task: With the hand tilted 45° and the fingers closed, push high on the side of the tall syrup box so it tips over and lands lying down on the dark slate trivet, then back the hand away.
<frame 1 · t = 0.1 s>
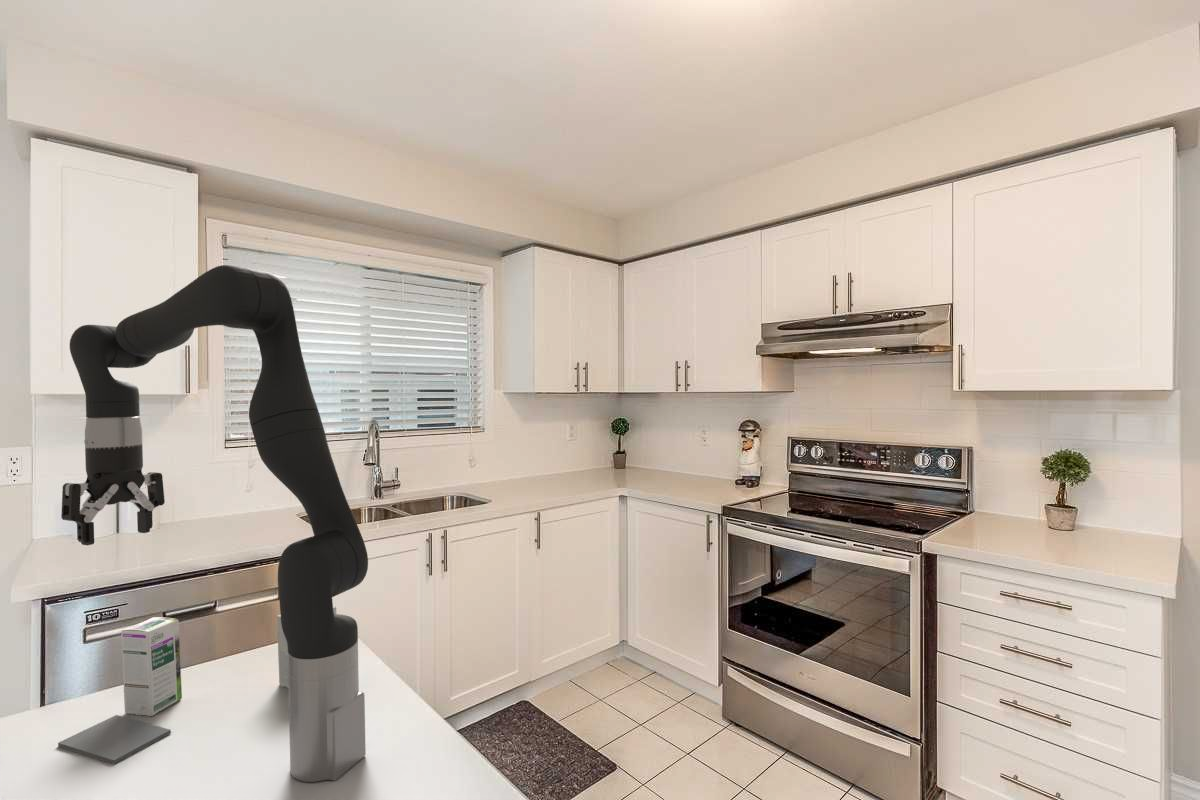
hand: (117, 538, 100), 29 cm above the counter, tool pointing down, fingers open, 8 cm apart
syrup box: (153, 707, 101), on the counter
small box: (309, 680, 110), on the counter
slate trivet: (115, 739, 91), on the counter
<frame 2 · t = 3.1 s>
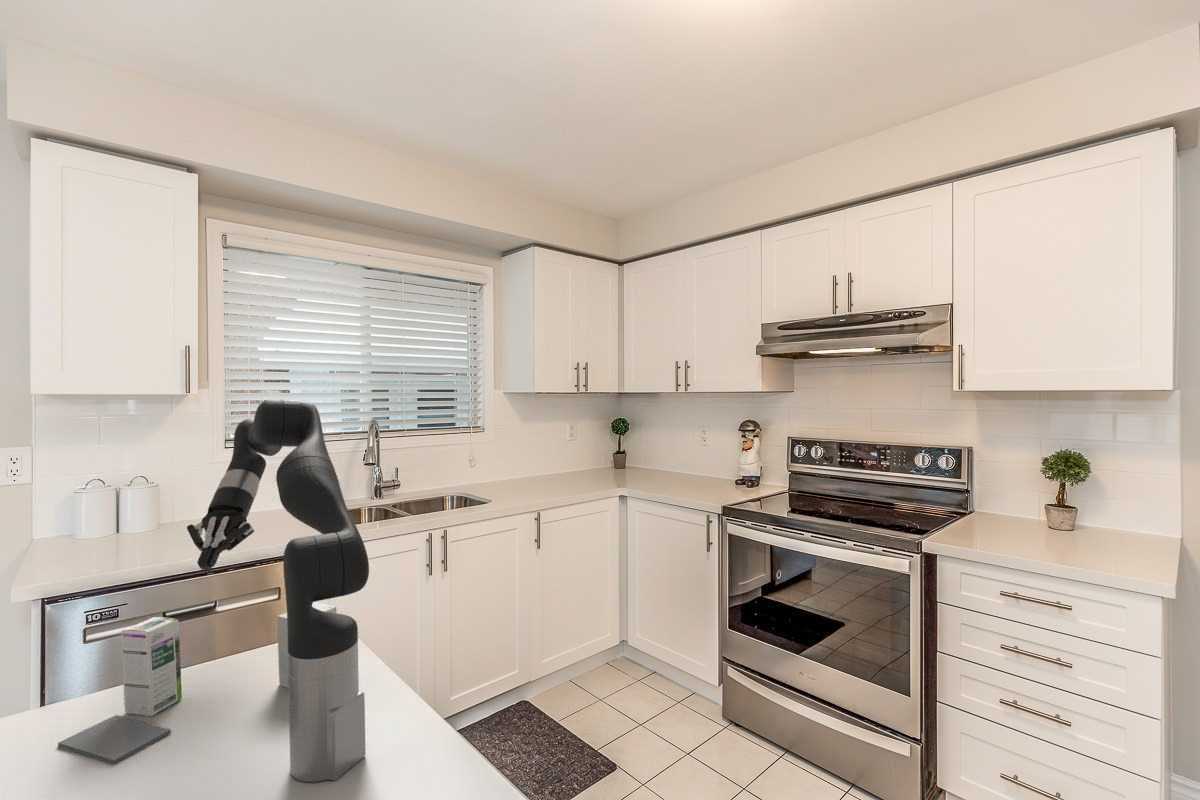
hand: (204, 567, 116), 19 cm above the counter, tool tilted 45°, fingers closed
nothing on the counter moved.
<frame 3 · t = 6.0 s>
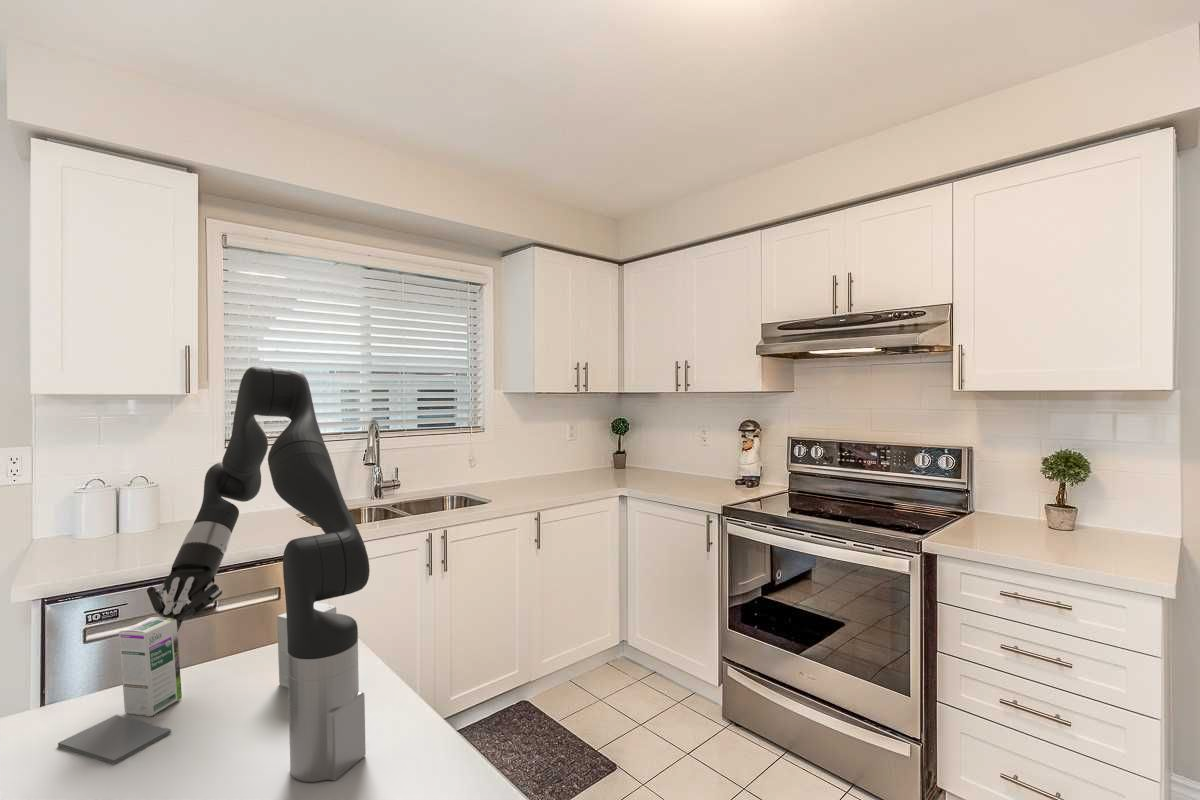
hand: (164, 638, 104), 10 cm above the counter, tool tilted 45°, fingers closed
syrup box: (153, 707, 101), on the counter, touching gripper
everything else where it was.
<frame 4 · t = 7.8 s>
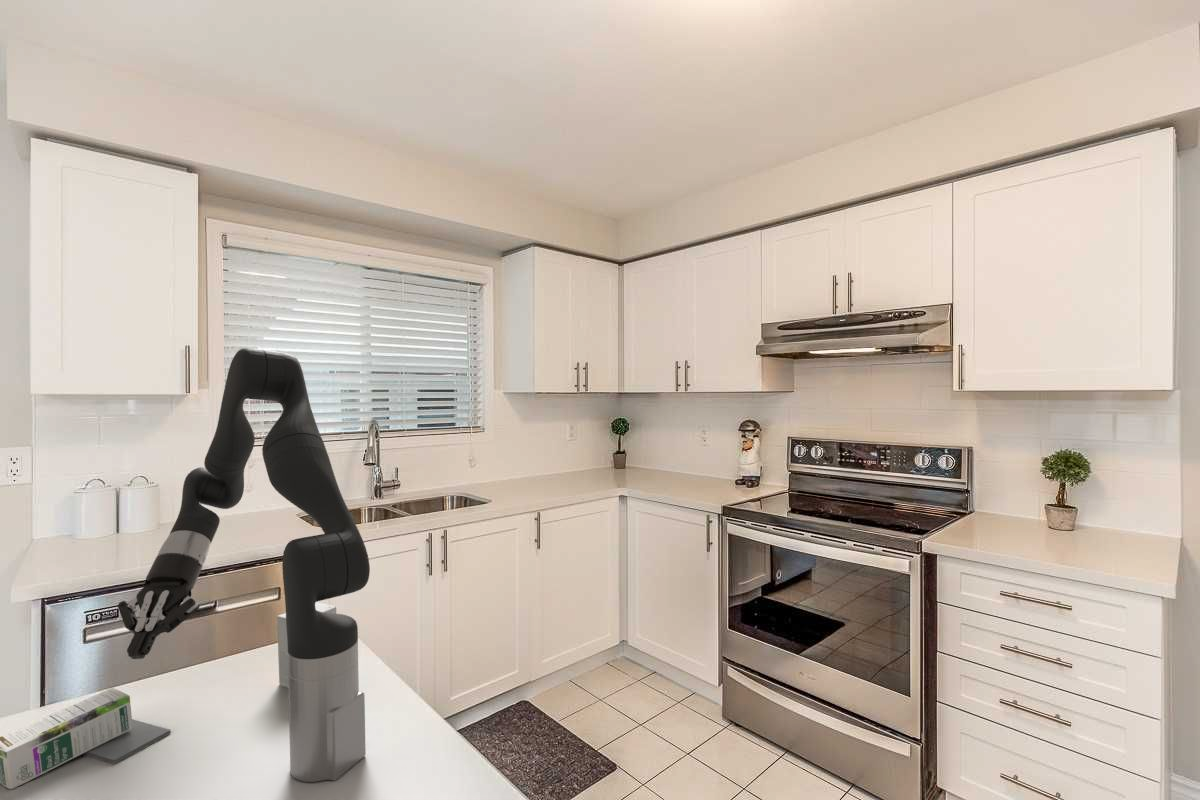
hand: (135, 657, 96), 10 cm above the counter, tool tilted 45°, fingers closed
syrup box: (125, 706, 93), point 4 cm above the counter, touching slate trivet
everything else where it was.
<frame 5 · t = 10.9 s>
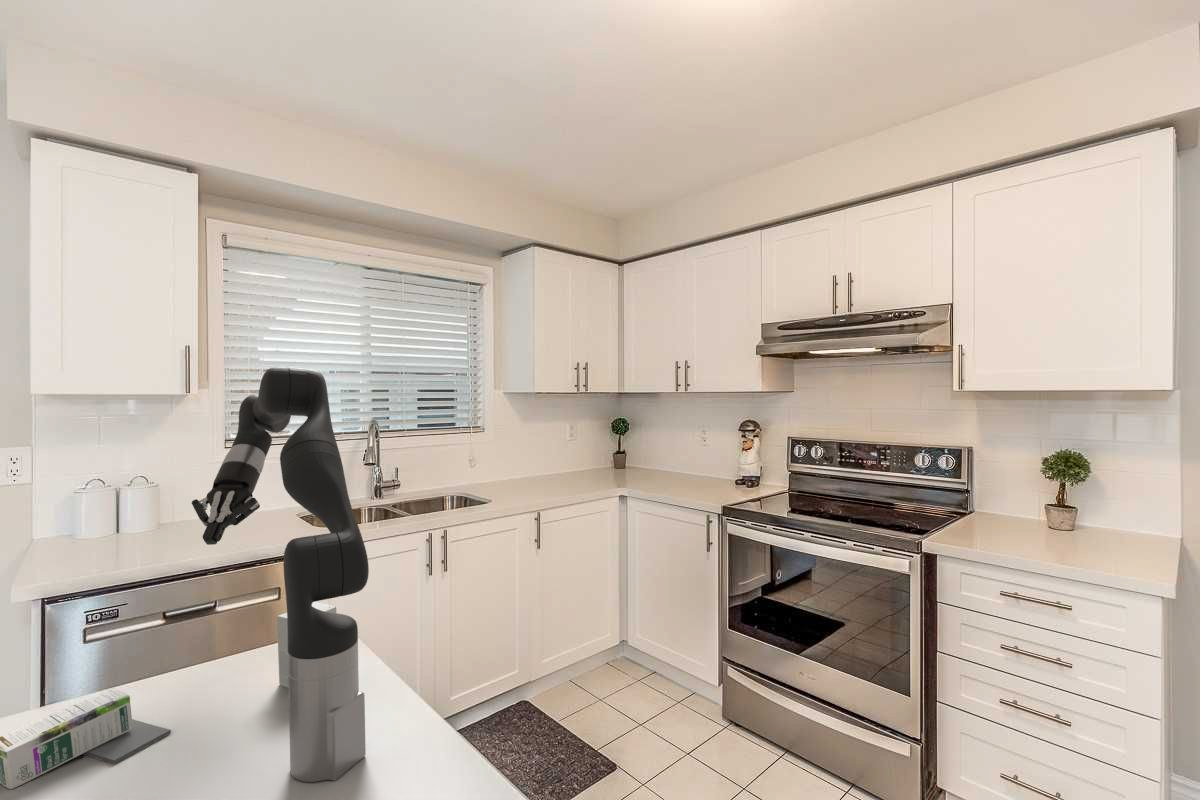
hand: (209, 542, 113), 25 cm above the counter, tool tilted 45°, fingers closed
nothing on the counter moved.
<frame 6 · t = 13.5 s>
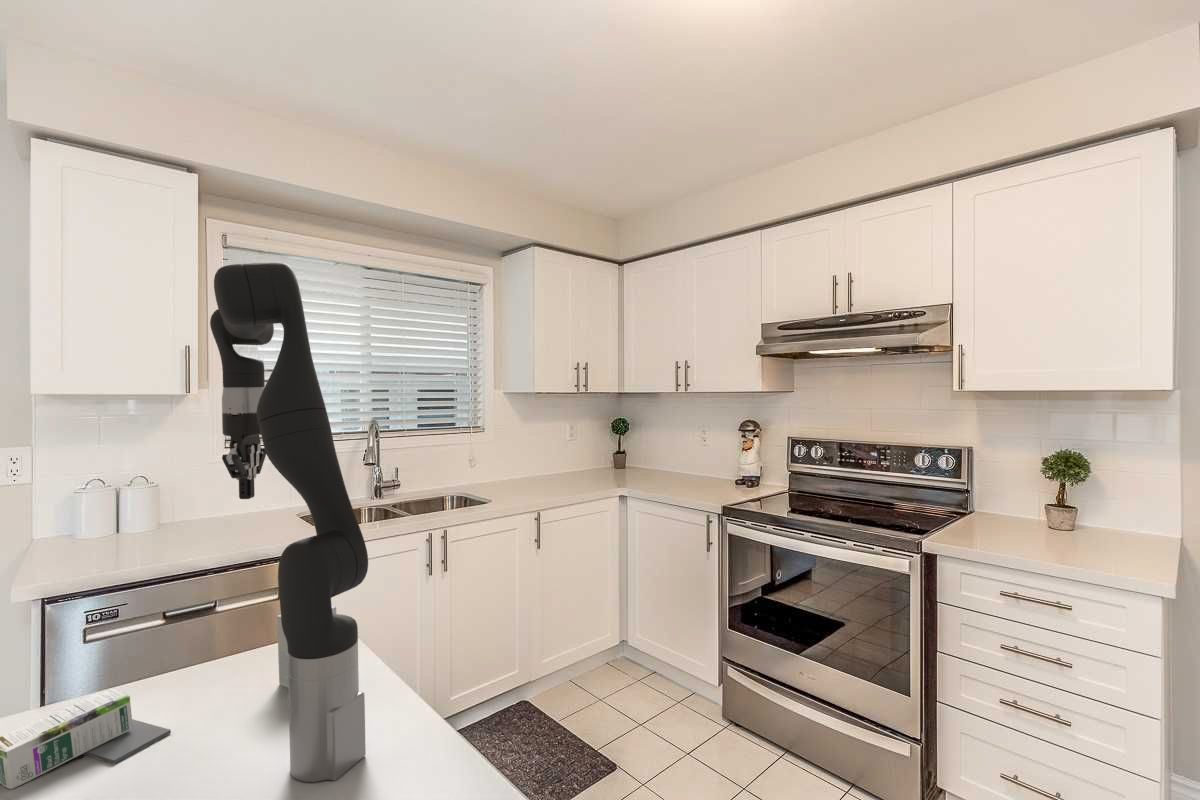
hand: (246, 498, 115), 33 cm above the counter, tool pointing down, fingers closed
nothing on the counter moved.
at the end: syrup box tilted 94°; syrup box 2.6 cm from the slate trivet (horizontally); syrup box point 3.8 cm above the counter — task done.
